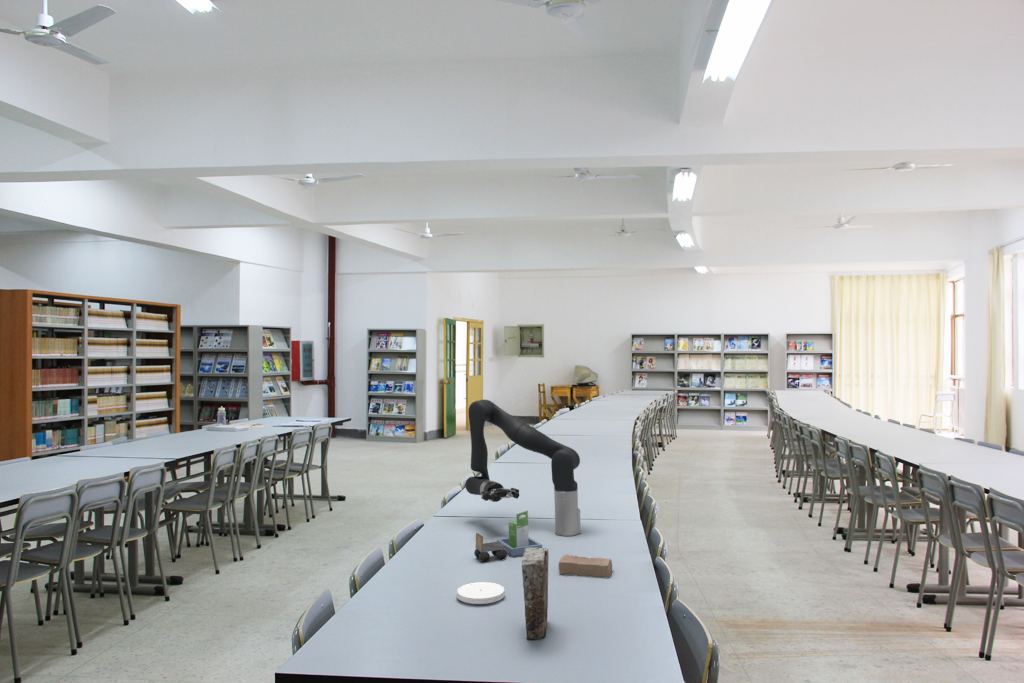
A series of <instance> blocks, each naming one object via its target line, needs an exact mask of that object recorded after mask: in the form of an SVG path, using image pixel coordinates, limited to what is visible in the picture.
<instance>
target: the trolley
mask: <svg viewBox="0 0 1024 683" xmlns="http://www.w3.org/2000/svg"><path fill="white" fill-rule="evenodd" d="M504 549H506V546H505V545H504V544H502V543H501V542H499V541H498V542H497V541H493V542H485V543H484V536H482V535H481V534H480V533H478V532H477V533H475V550H474V553H473V554H474V556H475V558H477V559H478V558H479V559H478V560H479V561H480V562H482V563H484V562H485V563H487V562H489V560H490V559H491V555H490V553H489V552H491V554H492V555H493V556H495V557H496V558H497V559H498V560H500V561H503V559H504V560H505V559H506V558H507V557H508V555H507V552H506V551H505V550H504Z"/></svg>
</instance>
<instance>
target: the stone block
mask: <svg viewBox="0 0 1024 683" xmlns="http://www.w3.org/2000/svg"><path fill="white" fill-rule="evenodd" d="M521 558H522V559H521V573H522V574H521V575H522V587H523V599H524V620H525V629H526V637H525V639H526V640H527V641H535V640H541V639H543V638H546V635H547V627H548V609H549V608H548V607H549V549H548V548H545V547H542V548H525V551H524V555H523V556H522V557H521Z"/></svg>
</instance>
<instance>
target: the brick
mask: <svg viewBox="0 0 1024 683" xmlns="http://www.w3.org/2000/svg"><path fill="white" fill-rule="evenodd" d="M611 572H613V561H612V559H611V558H606V557H605V558H604V557H587V556H578V555H573V554H571V555H570V554H563V555H562V556H561V557H560V560H559V562H558V573H559V574H560V575H564V576H571V575H573V576H574V575H577V576H576V577H589V576H592V578H606V577H608V578H610V577H611V574H612V573H611ZM609 576H610V577H609Z"/></svg>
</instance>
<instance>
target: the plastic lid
mask: <svg viewBox="0 0 1024 683" xmlns="http://www.w3.org/2000/svg"><path fill="white" fill-rule="evenodd" d="M505 591H506V590H505V587H504V586H503V585H501V584H499V583H494V582H487V581H480V582H472V583H466V584H464V585H462V586H459V587H458V588H457V590H456V597H457V599H458V600H459V601H461V602H463V603H466V604H472V605H483V604H491V603H492V604H493V603H495V602H499V601H501V600H502V599H503V598H504V597H505V596H506V594H505V593H506V592H505Z"/></svg>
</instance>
